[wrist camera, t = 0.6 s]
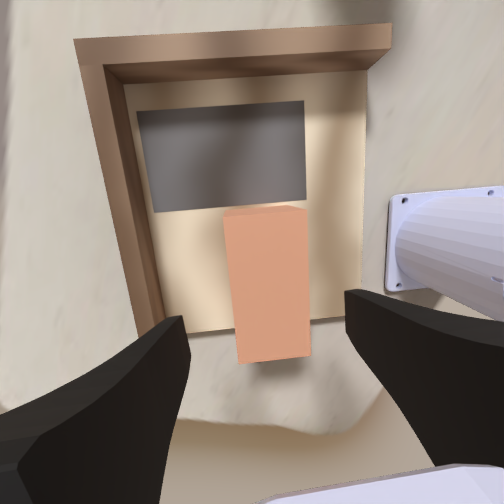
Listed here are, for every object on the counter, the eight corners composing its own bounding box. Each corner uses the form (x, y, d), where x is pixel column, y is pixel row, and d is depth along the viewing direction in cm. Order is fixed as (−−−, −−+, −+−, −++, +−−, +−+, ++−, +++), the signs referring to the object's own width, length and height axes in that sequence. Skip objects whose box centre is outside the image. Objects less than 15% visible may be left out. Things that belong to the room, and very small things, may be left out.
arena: (360, 56, 17) (392, 22, 13) (354, 308, 21) (377, 330, 18) (107, 71, 16) (73, 39, 13) (157, 330, 21) (142, 357, 17)
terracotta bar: (225, 210, 18) (222, 217, 13) (287, 204, 18) (307, 209, 13) (237, 322, 20) (238, 364, 15) (292, 316, 20) (311, 355, 15)
